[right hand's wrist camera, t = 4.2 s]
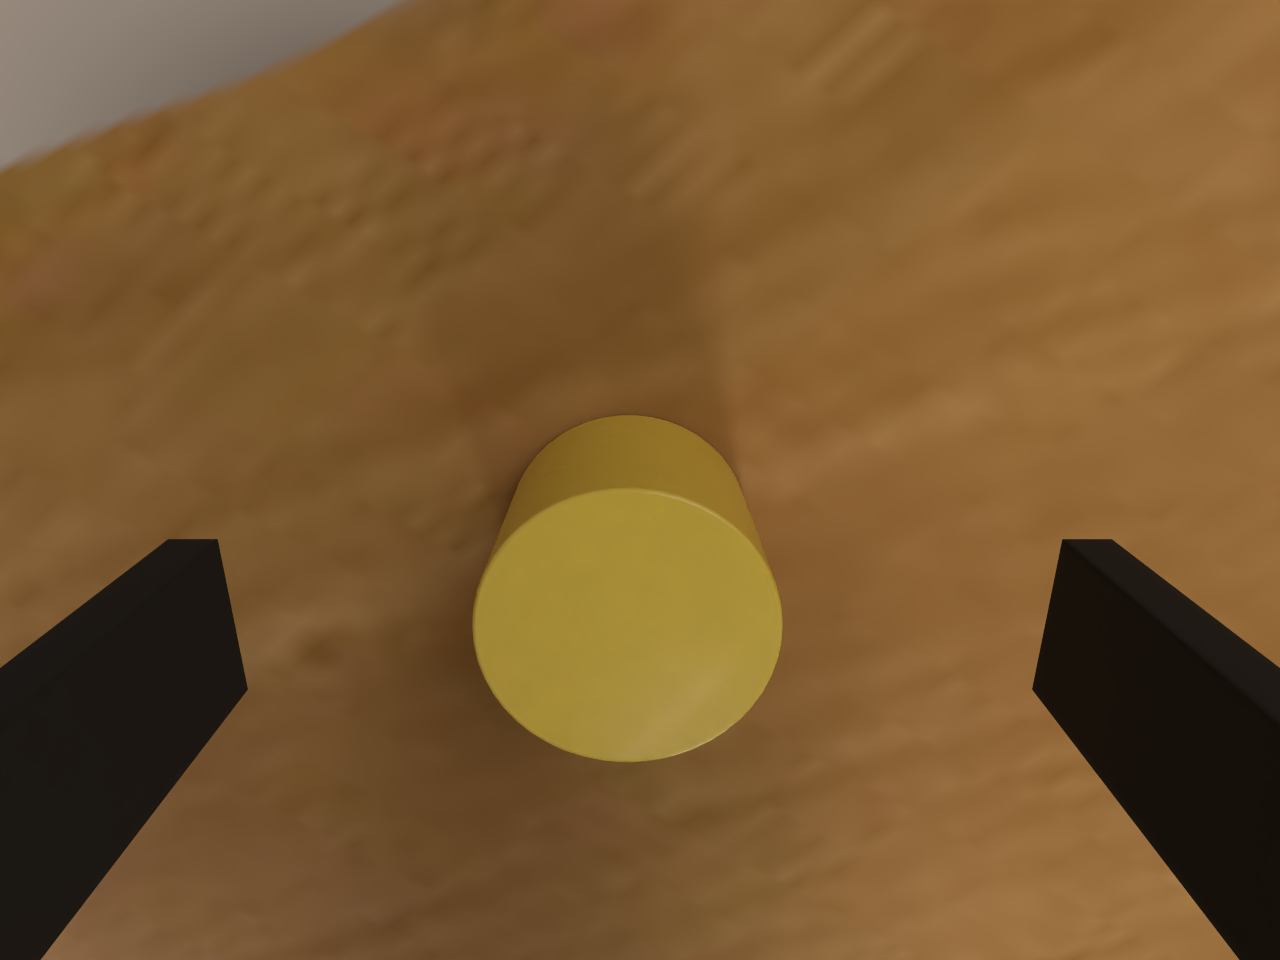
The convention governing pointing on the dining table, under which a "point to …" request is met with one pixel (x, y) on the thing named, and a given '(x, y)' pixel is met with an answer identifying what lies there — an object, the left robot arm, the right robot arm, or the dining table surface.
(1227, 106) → the dining table surface
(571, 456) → the cylinder
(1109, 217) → the dining table surface
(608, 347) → the dining table surface
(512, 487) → the dining table surface
